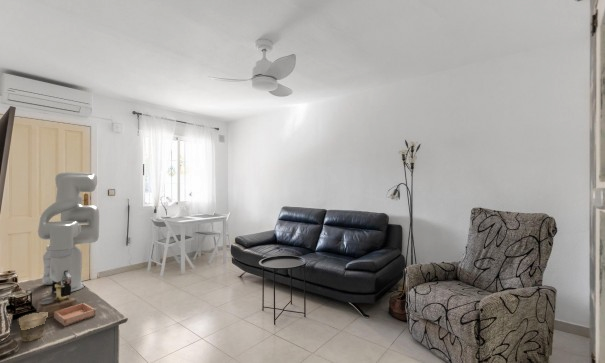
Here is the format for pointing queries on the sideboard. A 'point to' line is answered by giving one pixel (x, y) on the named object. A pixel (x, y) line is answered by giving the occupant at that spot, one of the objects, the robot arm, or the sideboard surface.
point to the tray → (74, 314)
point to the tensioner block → (54, 305)
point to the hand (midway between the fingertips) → (61, 293)
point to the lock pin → (59, 293)
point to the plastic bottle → (47, 267)
